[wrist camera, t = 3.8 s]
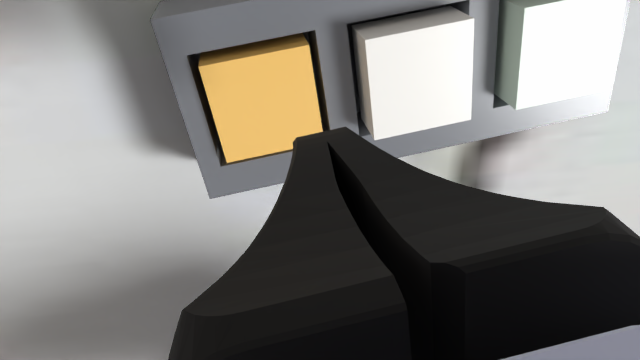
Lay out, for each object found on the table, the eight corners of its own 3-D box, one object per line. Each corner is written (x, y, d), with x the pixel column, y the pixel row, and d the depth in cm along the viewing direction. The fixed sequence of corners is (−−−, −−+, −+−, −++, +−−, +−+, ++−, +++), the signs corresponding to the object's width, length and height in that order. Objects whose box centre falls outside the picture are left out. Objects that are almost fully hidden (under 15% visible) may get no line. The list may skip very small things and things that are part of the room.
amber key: (300, 29, 16) (309, 44, 14) (316, 120, 18) (324, 141, 16) (200, 49, 16) (198, 67, 14) (226, 139, 18) (226, 162, 16)
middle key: (450, 5, 16) (474, 18, 14) (449, 99, 18) (471, 119, 16) (351, 25, 16) (364, 40, 14) (361, 118, 17) (374, 140, 16)
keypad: (591, -80, 17) (645, -76, 15) (566, 87, 20) (607, 111, 18) (160, 1, 16) (150, 19, 14) (211, 163, 19) (210, 199, 17)
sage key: (591, -23, 16) (629, -13, 15) (576, 73, 18) (608, 90, 16) (495, -4, 16) (524, 8, 14) (490, 90, 18) (515, 110, 16)
